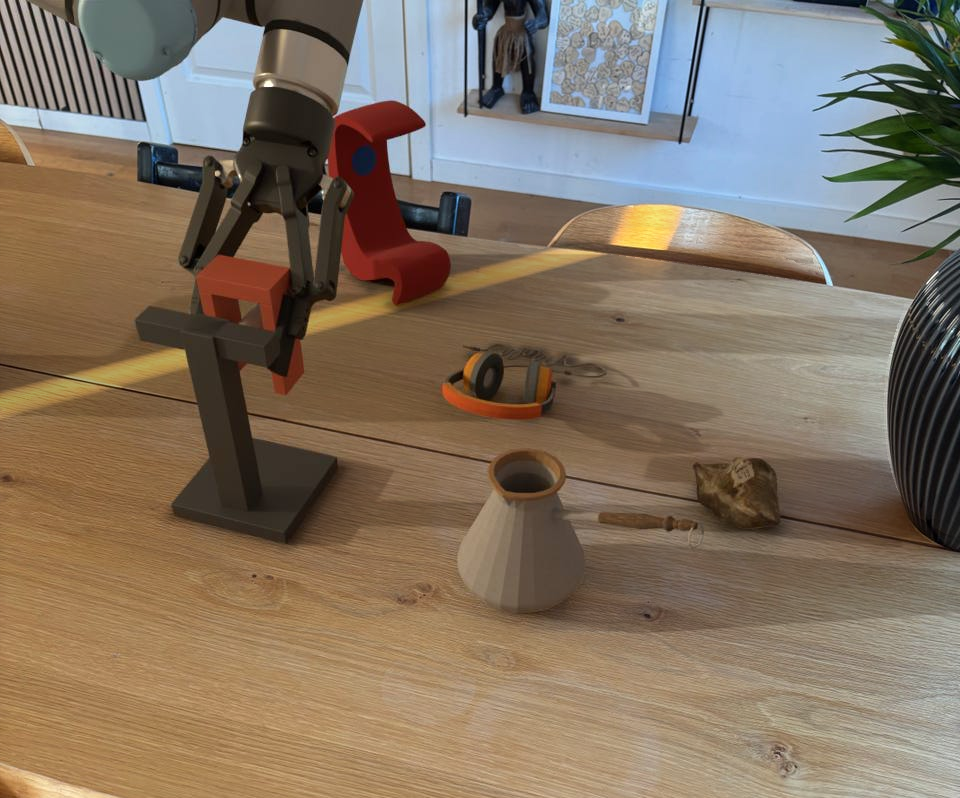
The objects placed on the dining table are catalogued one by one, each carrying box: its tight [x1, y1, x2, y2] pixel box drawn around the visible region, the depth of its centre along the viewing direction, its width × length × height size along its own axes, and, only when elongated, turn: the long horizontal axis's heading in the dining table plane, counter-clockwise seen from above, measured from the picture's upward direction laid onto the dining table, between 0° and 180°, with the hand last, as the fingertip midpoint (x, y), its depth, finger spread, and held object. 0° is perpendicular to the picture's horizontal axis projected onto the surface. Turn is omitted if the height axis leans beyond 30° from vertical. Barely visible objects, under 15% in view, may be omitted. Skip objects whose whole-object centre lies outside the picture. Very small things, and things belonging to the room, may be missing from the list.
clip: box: [196, 255, 306, 396], centre depth 91 cm, size 7×4×10 cm, turn 71°
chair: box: [327, 99, 452, 306], centre depth 121 cm, size 15×7×20 cm, turn 39°
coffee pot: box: [456, 447, 705, 614], centre depth 85 cm, size 21×12×15 cm, turn 55°
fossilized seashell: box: [692, 456, 782, 530], centre depth 98 cm, size 8×7×10 cm
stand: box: [134, 303, 339, 545], centre depth 93 cm, size 12×12×20 cm
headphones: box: [441, 343, 607, 421], centre depth 110 cm, size 17×5×20 cm
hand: (237, 364), depth 90 cm, fingers closed on clip, 7 cm apart
